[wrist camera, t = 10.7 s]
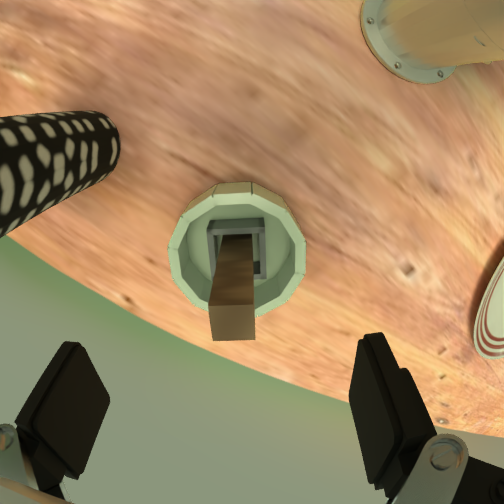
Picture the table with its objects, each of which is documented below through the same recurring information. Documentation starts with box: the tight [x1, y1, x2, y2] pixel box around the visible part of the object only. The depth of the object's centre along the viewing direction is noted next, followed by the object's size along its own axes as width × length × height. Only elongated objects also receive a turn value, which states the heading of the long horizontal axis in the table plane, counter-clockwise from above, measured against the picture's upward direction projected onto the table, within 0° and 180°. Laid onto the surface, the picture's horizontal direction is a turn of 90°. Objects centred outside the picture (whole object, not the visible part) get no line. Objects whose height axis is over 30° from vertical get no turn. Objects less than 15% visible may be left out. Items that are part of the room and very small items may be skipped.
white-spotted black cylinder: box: [0, 111, 120, 238], centre depth 21 cm, size 8×8×20 cm
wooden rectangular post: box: [208, 233, 255, 341], centre depth 28 cm, size 3×3×14 cm
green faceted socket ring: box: [167, 182, 306, 317], centre depth 32 cm, size 13×13×5 cm
